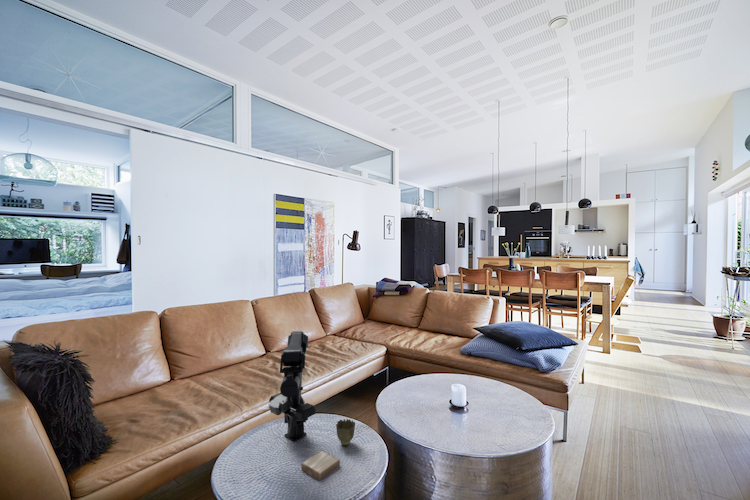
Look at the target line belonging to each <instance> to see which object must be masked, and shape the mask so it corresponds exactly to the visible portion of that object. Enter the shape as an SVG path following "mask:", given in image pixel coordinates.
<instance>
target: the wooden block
mask: <svg viewBox="0 0 750 500" xmlns="http://www.w3.org/2000/svg"><path fill="white" fill-rule="evenodd" d="M340 460H341V459H339V458H337V457H335V456H334V455H332V454H330V453H327V452H326V451H324V450H320V451H318V452H317V453H315V454H314V455H312V456H311V457H309V458H307V459H306V460H304V461H303V462H301V464H300V465H301V471H303V472H304V473H306V474H308V475H310V476H311V477H313V478H314V479H316V480H318V481H321V480H323V479H324V478H326V477H328V475H330V474H331V473H332V472H334V471H336V469H338V468H339V467H340V466H341V465H340V463H341V461H340Z"/></svg>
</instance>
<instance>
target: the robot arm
mask: <svg viewBox="0 0 750 500" xmlns="http://www.w3.org/2000/svg"><path fill="white" fill-rule="evenodd" d="M308 348H309V336H308V335H307V334H305V333H304V331H302V330H297V331H296V330H295V331H294V330H293V331H291V332H290V335H288V336H287V346H286V347H284V349H283V352H281V356H280V365H279V366H280V367H279V374H283V379H282V381H281V384H280V388H279V389H280V390H279V391H280V392H279V393H276V394H274V395H271V397H270V398H269V399H268V408H269V411H270V413H272V414H274V415H276V416H280V415H281V414H283V415H284V416H283V417H284V424H287V433H285V434H284V435H283V436H284V437H285V438H287V439H289V440H291V441H292V442H296V441H299V440H300V439H301V438H303V437H305V436H306V435H307V432H305V424H304V423H306V422H307V421H308V420H309V418H310V417H312V416H314V415H315V414H316V406H315V405H313V404H311V403H308V402H306V403H305V399H304V398H303V396H302V391H303V390H304V386H303V381H302V380H303V371H304V369H305V367H306V353H307V351H308V350H307V349H308Z"/></svg>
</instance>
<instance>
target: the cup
mask: <svg viewBox="0 0 750 500" xmlns="http://www.w3.org/2000/svg"><path fill="white" fill-rule="evenodd" d="M335 426H336V435H337V439H338V440H339V441H340V445H341V446H344V447H347V446H349V445H350V444H351V441H352V440H353V439H354V435H355V429H356V422H355V421H354V420H351V418H350V419H348V418H346V419H345V418H344V419H340V420H338V421H337V424H335Z"/></svg>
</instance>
